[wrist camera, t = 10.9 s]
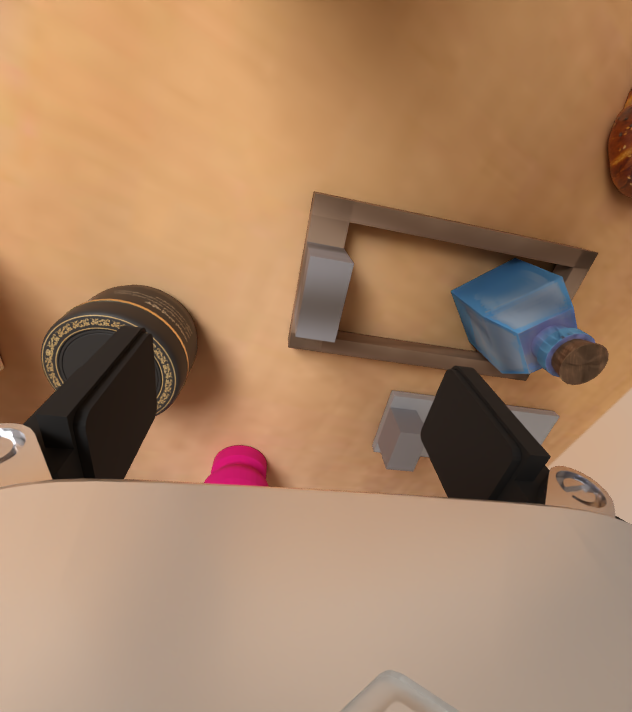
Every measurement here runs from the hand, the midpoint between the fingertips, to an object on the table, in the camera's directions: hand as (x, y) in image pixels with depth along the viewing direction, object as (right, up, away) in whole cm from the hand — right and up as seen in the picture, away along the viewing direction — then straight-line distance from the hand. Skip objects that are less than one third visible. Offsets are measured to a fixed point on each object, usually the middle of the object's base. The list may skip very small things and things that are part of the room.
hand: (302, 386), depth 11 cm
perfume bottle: (+17, +6, +22) cm, 29 cm away
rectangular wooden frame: (+11, +7, +21) cm, 25 cm away
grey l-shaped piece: (+18, -8, +30) cm, 35 cm away
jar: (-15, +3, +21) cm, 27 cm away
